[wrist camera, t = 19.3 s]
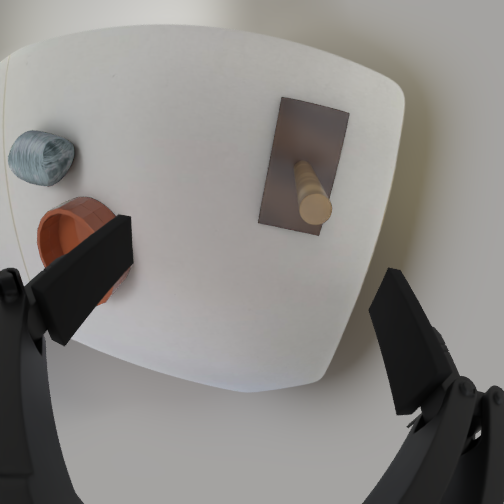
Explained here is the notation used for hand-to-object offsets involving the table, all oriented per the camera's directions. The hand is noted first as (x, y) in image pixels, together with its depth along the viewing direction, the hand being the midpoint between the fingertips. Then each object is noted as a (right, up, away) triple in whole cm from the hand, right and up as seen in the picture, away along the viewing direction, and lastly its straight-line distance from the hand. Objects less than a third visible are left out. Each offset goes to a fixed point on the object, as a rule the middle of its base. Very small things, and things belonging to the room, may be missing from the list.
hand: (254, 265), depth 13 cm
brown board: (+6, +11, +19) cm, 23 cm away
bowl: (-28, +2, +28) cm, 40 cm away
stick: (+6, +10, +18) cm, 21 cm away
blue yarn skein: (-33, +17, +21) cm, 43 cm away
